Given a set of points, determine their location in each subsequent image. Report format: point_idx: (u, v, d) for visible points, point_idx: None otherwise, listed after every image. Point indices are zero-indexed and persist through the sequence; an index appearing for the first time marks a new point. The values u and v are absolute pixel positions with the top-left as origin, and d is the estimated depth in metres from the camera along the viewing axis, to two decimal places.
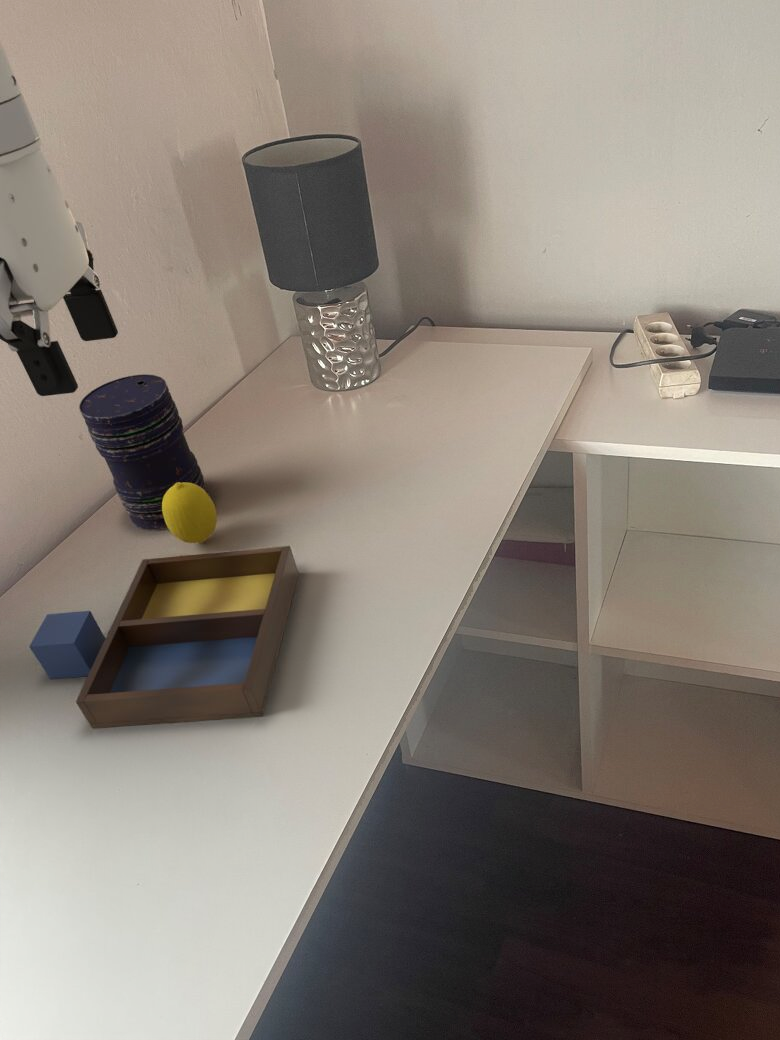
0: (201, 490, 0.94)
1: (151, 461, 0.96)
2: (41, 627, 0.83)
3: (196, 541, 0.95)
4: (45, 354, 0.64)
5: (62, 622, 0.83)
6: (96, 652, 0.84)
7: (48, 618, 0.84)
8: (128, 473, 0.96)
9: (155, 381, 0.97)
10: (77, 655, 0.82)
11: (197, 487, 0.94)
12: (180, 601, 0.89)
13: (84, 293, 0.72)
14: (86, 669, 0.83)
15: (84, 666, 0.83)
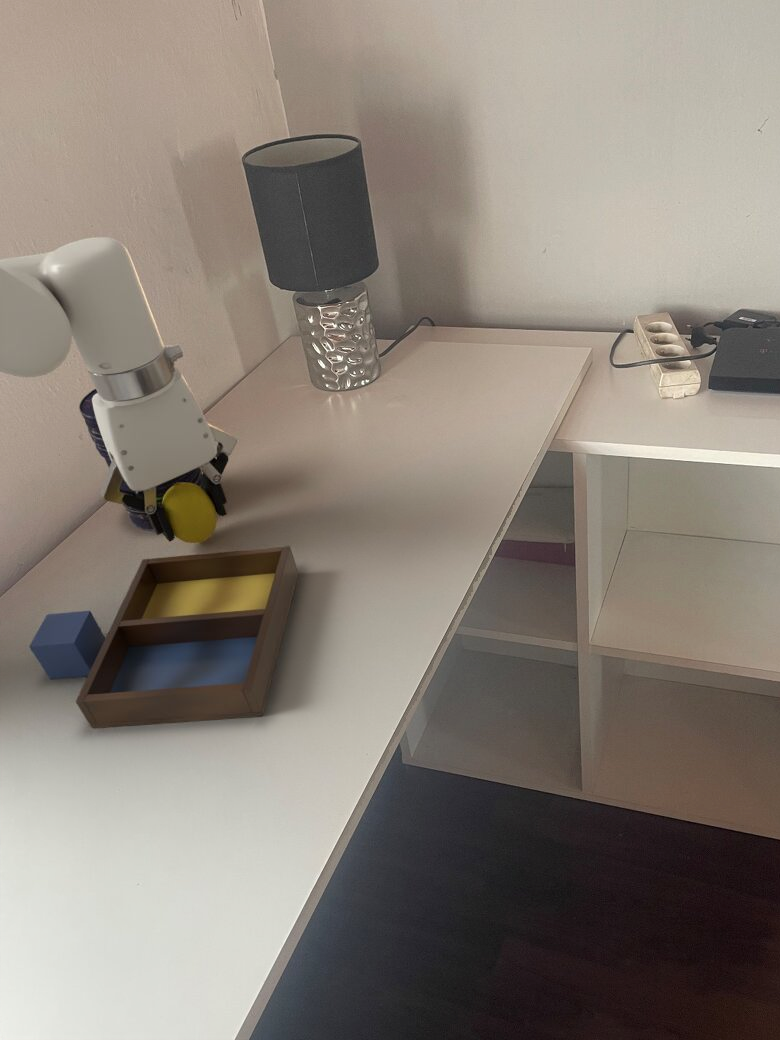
0: (201, 490, 0.94)
1: None
2: (41, 627, 0.83)
3: (196, 541, 0.95)
4: (151, 516, 0.92)
5: (62, 622, 0.83)
6: (96, 652, 0.84)
7: (48, 618, 0.84)
8: None
9: None
10: (77, 655, 0.82)
11: (197, 487, 0.94)
12: (180, 601, 0.89)
13: (207, 483, 0.94)
14: (86, 669, 0.83)
15: (84, 666, 0.83)
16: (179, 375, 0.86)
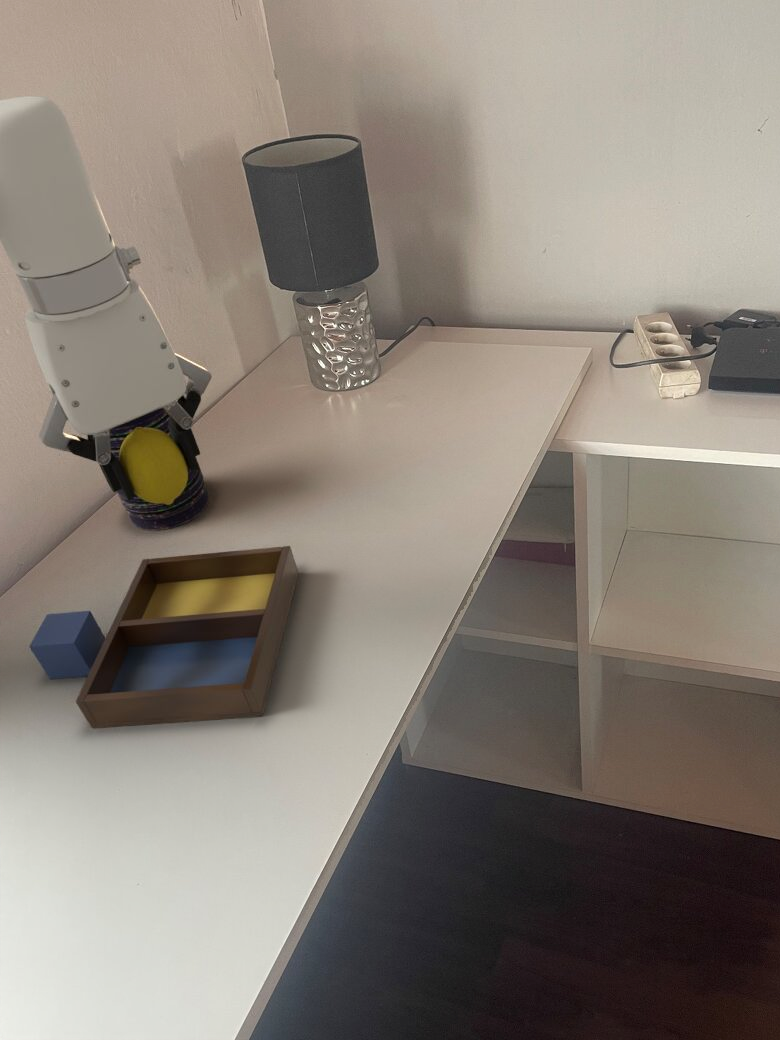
0: (167, 437, 0.76)
1: None
2: (41, 627, 0.83)
3: (162, 501, 0.78)
4: (105, 467, 0.74)
5: (62, 622, 0.83)
6: (96, 652, 0.84)
7: (48, 618, 0.84)
8: None
9: None
10: (77, 655, 0.82)
11: (162, 433, 0.76)
12: (180, 601, 0.89)
13: (175, 429, 0.77)
14: (86, 669, 0.83)
15: (84, 666, 0.83)
16: (136, 286, 0.68)
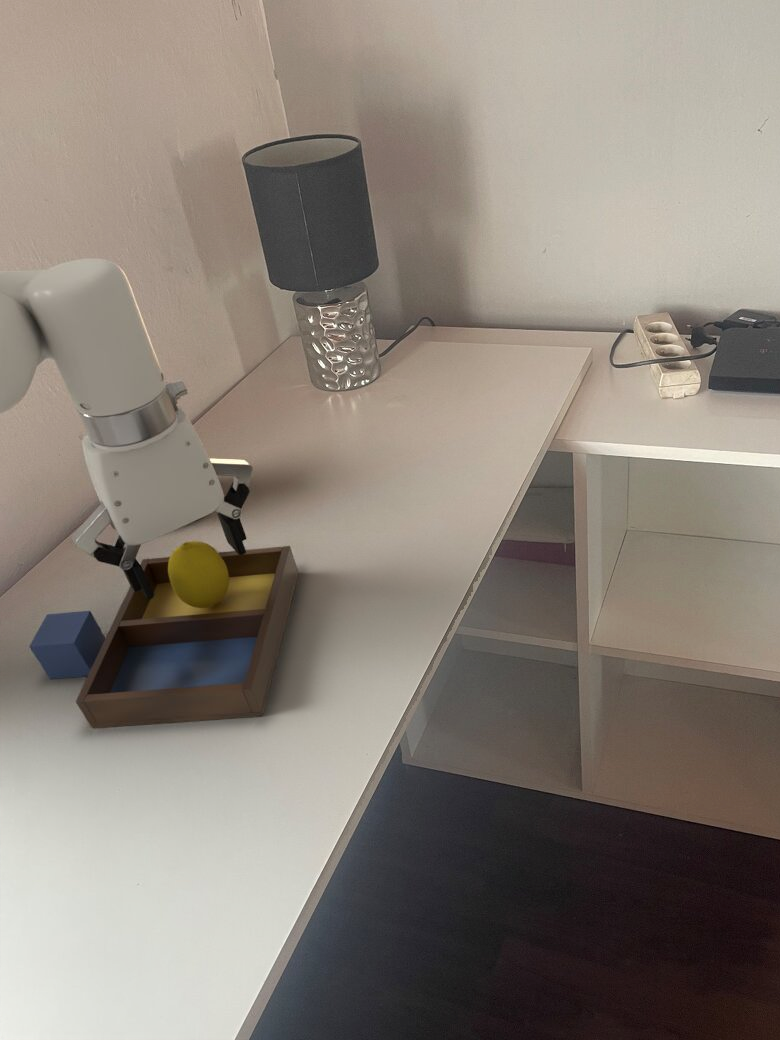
0: (212, 550, 0.84)
1: None
2: (41, 627, 0.83)
3: (206, 606, 0.85)
4: (127, 571, 0.80)
5: (62, 622, 0.83)
6: (96, 652, 0.84)
7: (48, 618, 0.84)
8: None
9: None
10: (77, 655, 0.82)
11: (207, 547, 0.84)
12: (180, 601, 0.89)
13: (225, 518, 0.83)
14: (86, 669, 0.83)
15: (84, 666, 0.83)
16: (183, 415, 0.75)
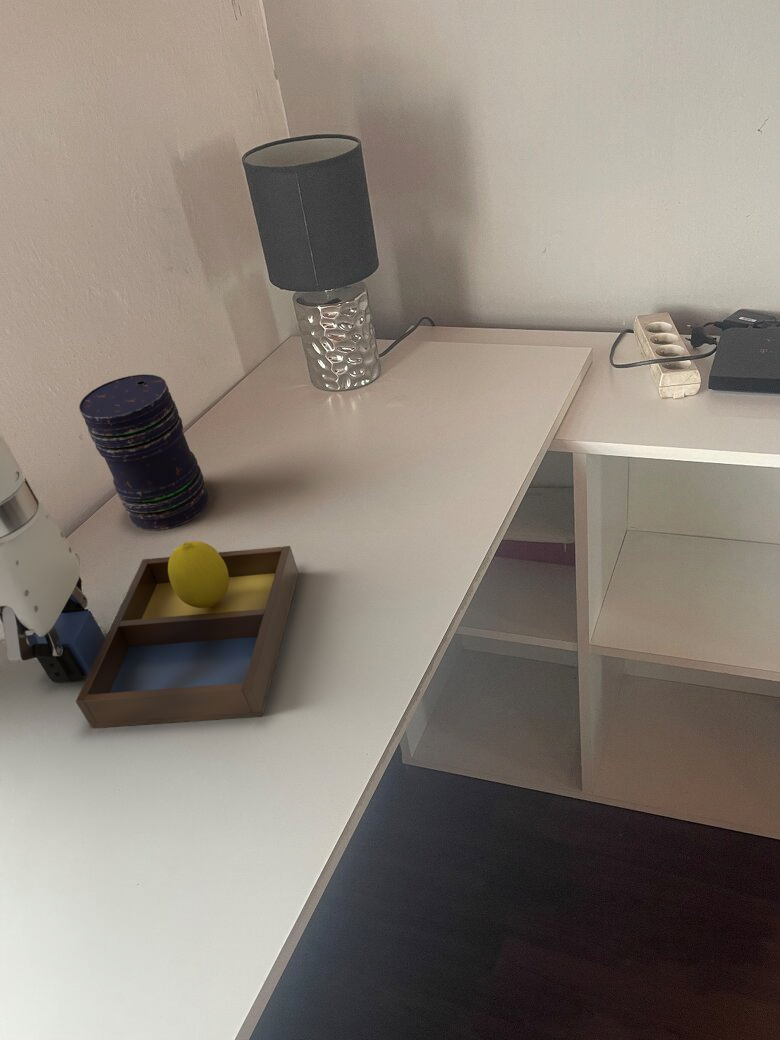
0: (212, 550, 0.84)
1: (151, 461, 0.96)
2: None
3: (206, 606, 0.85)
4: (58, 659, 0.80)
5: (62, 622, 0.83)
6: (96, 652, 0.84)
7: None
8: (128, 473, 0.96)
9: (155, 381, 0.97)
10: (77, 655, 0.82)
11: (207, 547, 0.84)
12: (180, 601, 0.89)
13: None
14: (86, 669, 0.83)
15: (84, 666, 0.83)
16: None
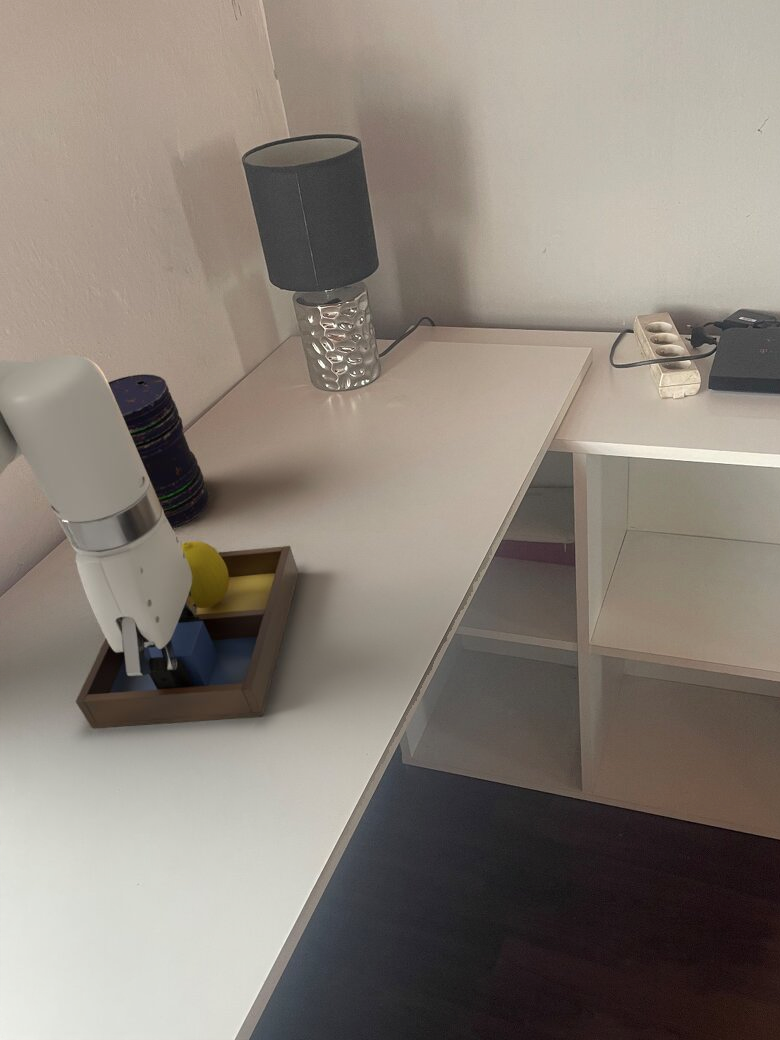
0: (212, 550, 0.84)
1: (151, 461, 0.96)
2: None
3: (206, 606, 0.85)
4: (172, 673, 0.75)
5: (174, 633, 0.78)
6: (208, 665, 0.80)
7: None
8: None
9: (155, 381, 0.97)
10: (192, 668, 0.77)
11: (207, 547, 0.84)
12: None
13: (183, 621, 0.80)
14: (200, 683, 0.78)
15: (198, 679, 0.78)
16: None
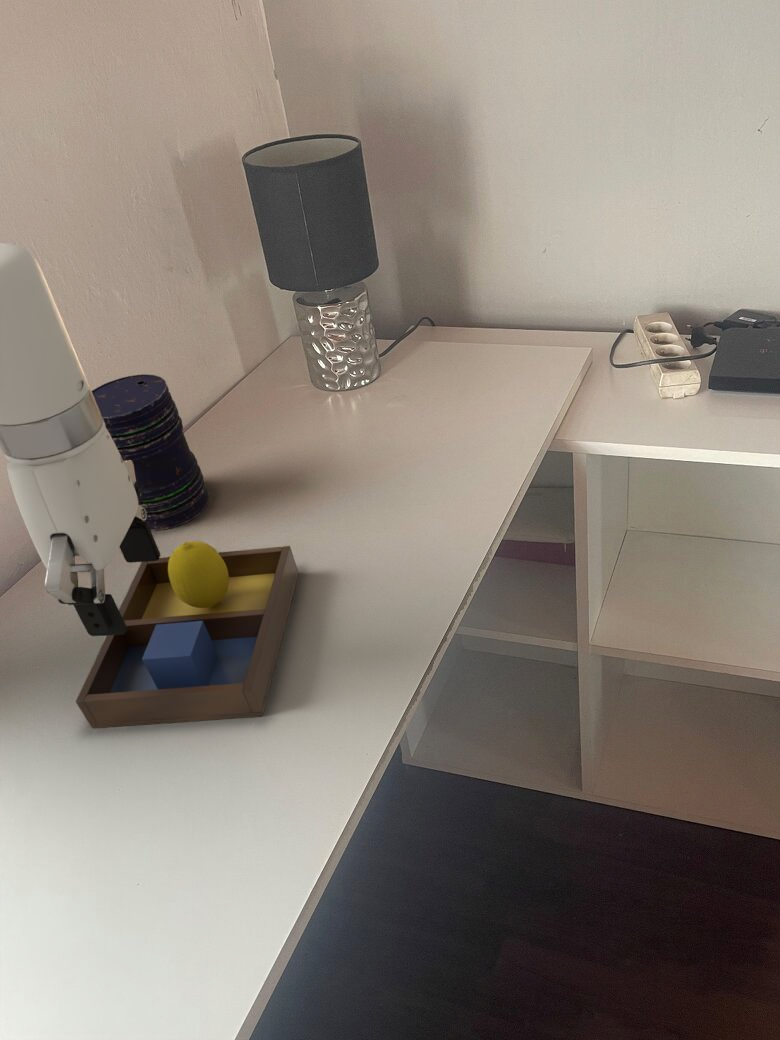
0: (212, 550, 0.84)
1: (151, 461, 0.96)
2: (152, 638, 0.78)
3: (206, 606, 0.85)
4: (99, 607, 0.69)
5: (174, 633, 0.78)
6: (208, 665, 0.80)
7: (158, 629, 0.79)
8: None
9: (155, 381, 0.97)
10: (192, 668, 0.77)
11: (207, 547, 0.84)
12: (180, 601, 0.89)
13: (131, 526, 0.77)
14: (200, 683, 0.78)
15: (198, 679, 0.78)
16: None
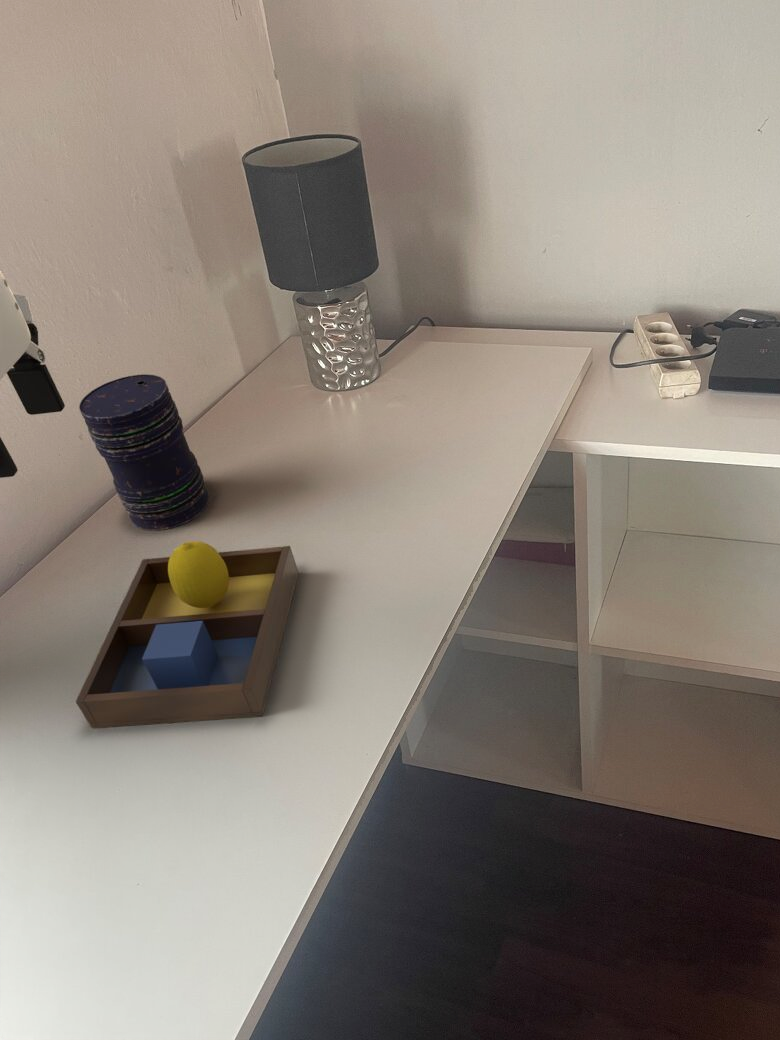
0: (212, 550, 0.84)
1: (151, 461, 0.96)
2: (152, 638, 0.78)
3: (206, 606, 0.85)
4: None
5: (174, 633, 0.78)
6: (208, 665, 0.80)
7: (158, 629, 0.79)
8: (128, 473, 0.96)
9: (155, 381, 0.97)
10: (192, 668, 0.77)
11: (207, 547, 0.84)
12: (180, 601, 0.89)
13: (28, 368, 0.70)
14: (200, 683, 0.78)
15: (198, 679, 0.78)
16: None
